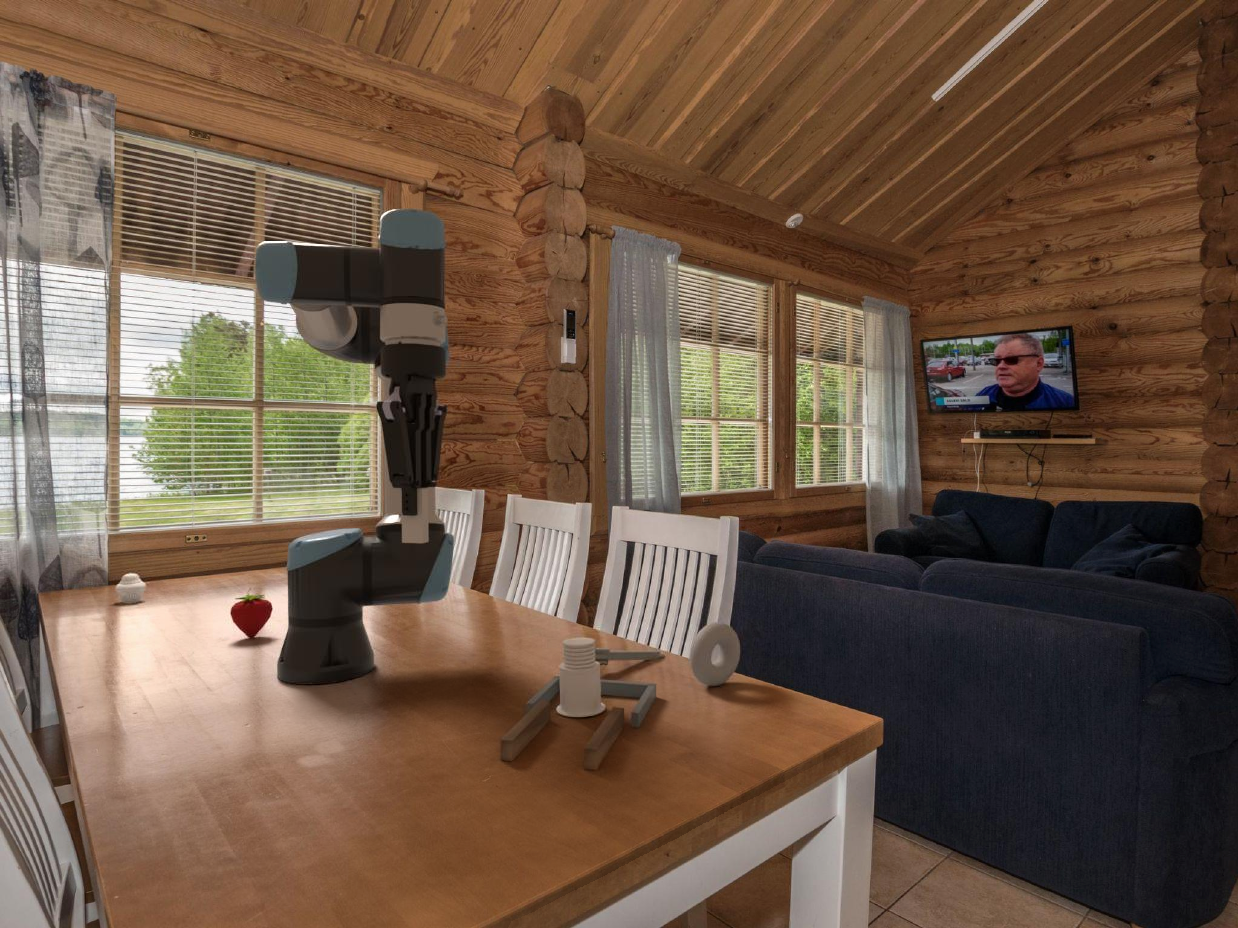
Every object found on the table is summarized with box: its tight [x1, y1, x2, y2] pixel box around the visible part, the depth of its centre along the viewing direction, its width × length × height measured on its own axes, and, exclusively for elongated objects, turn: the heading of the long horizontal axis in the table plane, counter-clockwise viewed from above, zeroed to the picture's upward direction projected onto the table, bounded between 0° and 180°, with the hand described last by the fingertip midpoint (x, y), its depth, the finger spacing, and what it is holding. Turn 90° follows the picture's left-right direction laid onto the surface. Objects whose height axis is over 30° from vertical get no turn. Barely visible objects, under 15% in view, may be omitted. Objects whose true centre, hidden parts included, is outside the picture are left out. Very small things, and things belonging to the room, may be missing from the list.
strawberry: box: [230, 587, 273, 639], centre depth 148 cm, size 6×8×10 cm
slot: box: [500, 701, 625, 771], centre depth 97 cm, size 12×14×2 cm
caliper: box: [595, 647, 666, 666], centre depth 129 cm, size 20×1×6 cm, turn 132°
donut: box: [689, 621, 741, 687], centre depth 119 cm, size 10×3×10 cm, turn 129°
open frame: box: [525, 675, 657, 729], centre depth 110 cm, size 16×12×2 cm
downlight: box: [556, 637, 606, 718], centre depth 109 cm, size 8×7×10 cm
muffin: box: [114, 572, 147, 604], centre depth 180 cm, size 6×6×7 cm
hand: (415, 541), depth 91 cm, fingers closed
